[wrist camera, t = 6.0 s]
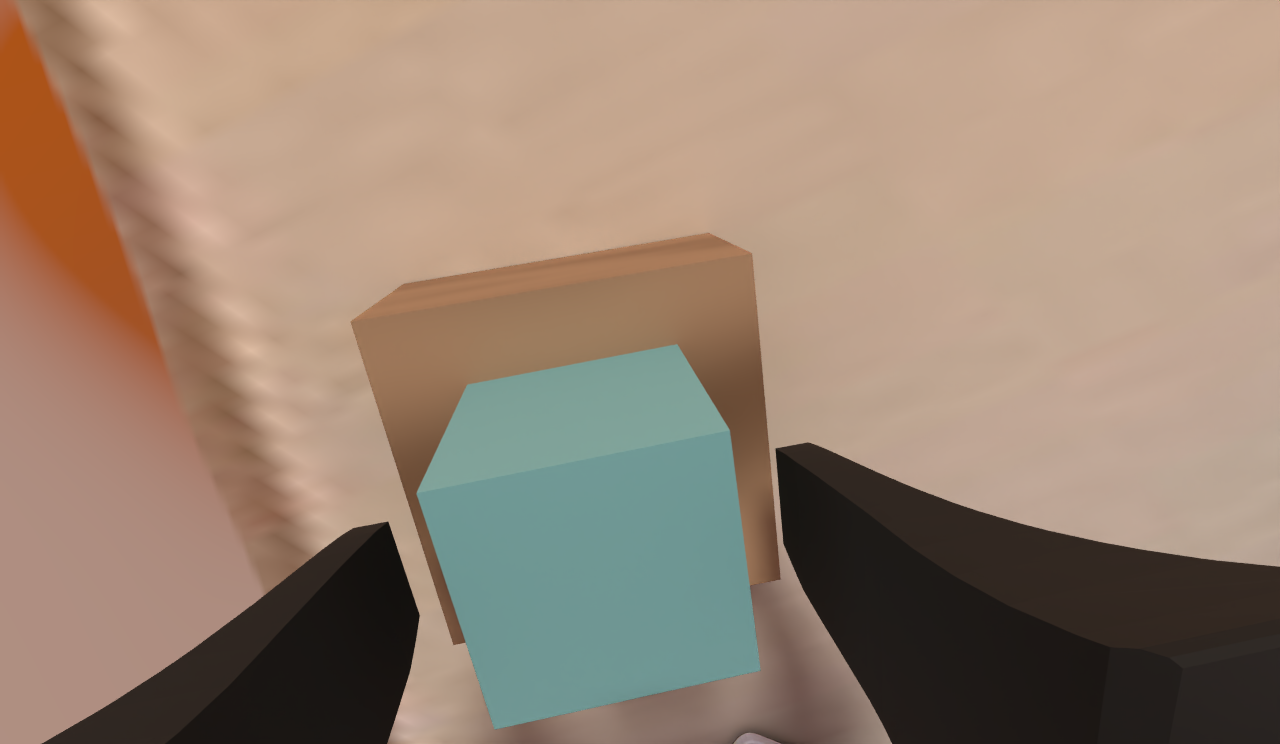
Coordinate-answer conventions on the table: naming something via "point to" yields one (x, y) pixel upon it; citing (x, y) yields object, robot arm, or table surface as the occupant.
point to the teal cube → (592, 535)
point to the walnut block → (574, 354)
